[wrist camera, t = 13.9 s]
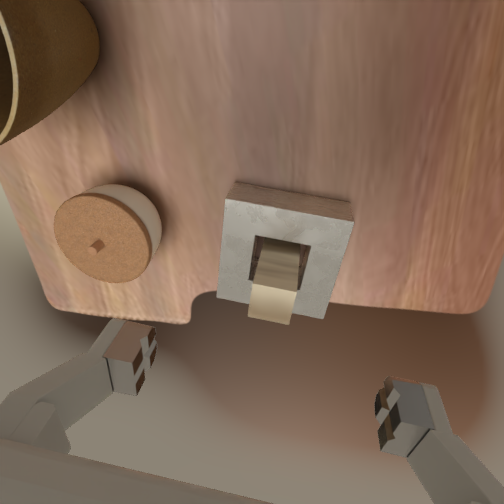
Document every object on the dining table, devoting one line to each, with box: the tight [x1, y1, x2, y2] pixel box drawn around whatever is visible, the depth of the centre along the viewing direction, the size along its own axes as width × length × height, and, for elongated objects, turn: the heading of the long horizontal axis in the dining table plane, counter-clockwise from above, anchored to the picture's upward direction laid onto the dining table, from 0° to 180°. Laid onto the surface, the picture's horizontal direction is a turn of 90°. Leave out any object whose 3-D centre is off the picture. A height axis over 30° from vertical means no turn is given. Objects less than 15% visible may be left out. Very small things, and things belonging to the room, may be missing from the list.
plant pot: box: [0, 0, 100, 145], centre depth 27 cm, size 15×15×16 cm
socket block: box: [217, 182, 354, 319], centre depth 39 cm, size 13×13×5 cm
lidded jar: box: [54, 184, 162, 283], centre depth 39 cm, size 11×11×9 cm
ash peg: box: [248, 237, 300, 325], centre depth 36 cm, size 4×4×12 cm
